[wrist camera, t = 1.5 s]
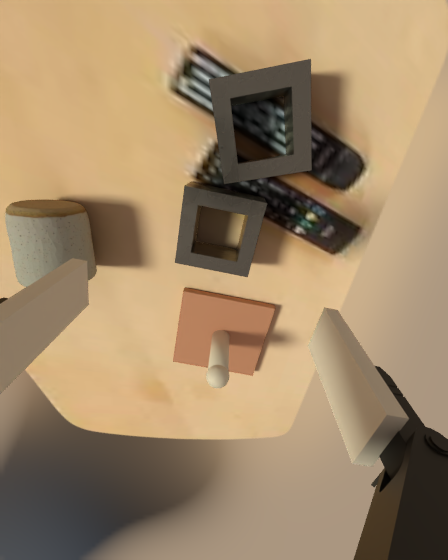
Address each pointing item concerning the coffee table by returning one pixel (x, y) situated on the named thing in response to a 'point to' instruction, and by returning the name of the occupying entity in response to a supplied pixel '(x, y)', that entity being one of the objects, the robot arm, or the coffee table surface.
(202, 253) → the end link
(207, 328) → the brown base with peg
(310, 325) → the coffee table surface
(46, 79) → the coffee table surface
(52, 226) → the ceramic mug
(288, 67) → the grey square hollow block
